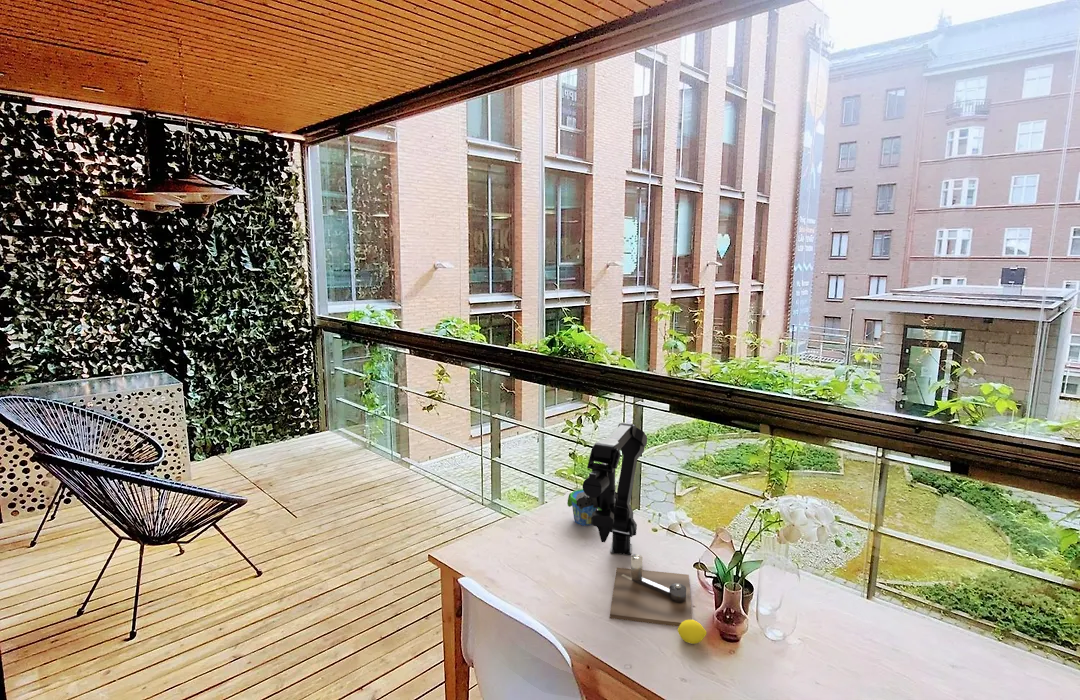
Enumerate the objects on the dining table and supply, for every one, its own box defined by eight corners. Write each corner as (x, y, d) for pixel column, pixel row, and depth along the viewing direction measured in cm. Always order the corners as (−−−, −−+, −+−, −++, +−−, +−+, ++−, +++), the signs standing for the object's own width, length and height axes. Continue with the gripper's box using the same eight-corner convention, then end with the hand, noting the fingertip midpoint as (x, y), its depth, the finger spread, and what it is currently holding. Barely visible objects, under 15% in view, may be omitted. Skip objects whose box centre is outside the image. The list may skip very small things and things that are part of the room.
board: (616, 571, 171) (616, 567, 171) (688, 578, 167) (688, 574, 166) (609, 618, 149) (609, 613, 149) (692, 628, 145) (692, 623, 144)
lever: (688, 597, 155) (689, 573, 154) (681, 604, 152) (681, 580, 150) (635, 575, 166) (636, 552, 165) (627, 581, 162) (627, 558, 161)
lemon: (677, 647, 139) (674, 626, 138) (680, 633, 144) (677, 613, 143) (706, 650, 136) (704, 629, 135) (708, 636, 141) (706, 616, 140)
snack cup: (610, 525, 199) (611, 498, 198) (587, 534, 193) (588, 506, 192) (582, 510, 212) (582, 484, 210) (560, 517, 206) (559, 491, 204)
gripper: (582, 471, 177) (582, 518, 179) (573, 495, 159) (573, 547, 161) (618, 473, 175) (617, 521, 177) (613, 498, 157) (612, 551, 159)
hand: (604, 534), depth 169 cm, fingers open, 9 cm apart
